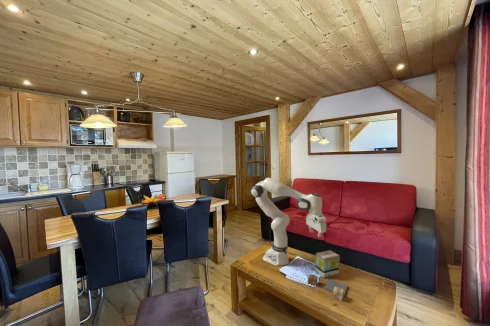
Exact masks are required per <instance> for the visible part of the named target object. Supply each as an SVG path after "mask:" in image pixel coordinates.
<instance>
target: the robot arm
mask: <svg viewBox="0 0 490 326" xmlns="http://www.w3.org/2000/svg"><path fill="white" fill-rule="evenodd" d="M269 193H271V194H273V195H275V196H278V197H291V198H293V199H296V201H295V204H296V207H297V208H298V209H299V210H301V211H308V213H307V215H306V216H305V217H306V219H305V224H306V225H307V226H308V229H309V233H314V230H316V231H317V232H318V234H317V237H318V238H321V237H322V234H325V233H326V231H327V218H326V217H325V215H324V214H323V211H322V208H323V200H322V196H321V194H319V193H316V192H311V193H309V194H307V193H303V192H301V191H298V190H297V189H294V188H292V187H289V186H288V185H287V184H284V183H282V182H280V181H279V180H277V179H275V178H271V177H266V178H265V179H264V180H261V181H259V182H257V183H256V184H254V185H253V186H252V187H251V188H250V194H251V195H252V197H253V198H255V201H256V203H257V205H258V206H259V208H260V209H261V210H262V211H263V213H264V214H265V215H266V217H270V218H271V219H272V222H271V223H270V226H271V227H270V228H271V230H272V232H273V243H272V244H271V247H270V248H269V249H267V250H266V251H265V254H264V255H263V256H262V260H263V261H264V262H266V263H269V264H270V265H273V266H275V267H277V266H286V265H288V264H289V263H290V259H289V253H288V252H289V245H288V235H287V231H286V230H287V226H288V225H289V224H290V220H291V219H290V216H289V215H288V214H287V213H284V211H282V210H281V209H279V208H278V207H277V205H275V203H274V202H273V201H272V200H271V199H270V197H269V196H268V194H269Z"/></svg>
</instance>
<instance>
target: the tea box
mask: <svg viewBox="0 0 490 326" xmlns="http://www.w3.org/2000/svg"><path fill="white" fill-rule="evenodd" d="M340 260H341V256H340V255H339V254H338V253H336V252H335V251H333V250H331V249H330V250H325V251H321V252H316V253H315V266H314V271H315V270H316V271H317V272H318V273H320V274H321V275H320V274H319V275H320V276H321V277H322V278H327V277H330V276H334V275H335V276H336V275H339V274H340ZM316 271H315V272H316ZM317 272H316V273H317ZM318 273H317V274H318Z"/></svg>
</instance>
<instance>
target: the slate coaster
mask: <svg viewBox="0 0 490 326" xmlns="http://www.w3.org/2000/svg"><path fill="white" fill-rule="evenodd" d="M335 287H338V288H341V289H343V297H345V295H346V293H347V290H348V284H345V283H343V282H340V281H337V280H333V279H328V281H327V283H326V284H325V287H324V290H325V291H328V292H331V293H333V290H334V288H335Z"/></svg>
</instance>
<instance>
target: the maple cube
mask: <svg viewBox="0 0 490 326" xmlns="http://www.w3.org/2000/svg"><path fill="white" fill-rule="evenodd" d="M332 296H333V297H332V298H333V299H335V300H337V301H340V302H342V301H343V298H344V296H343V289H341V288H338V287H335V288H334V290H333V292H332Z"/></svg>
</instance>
